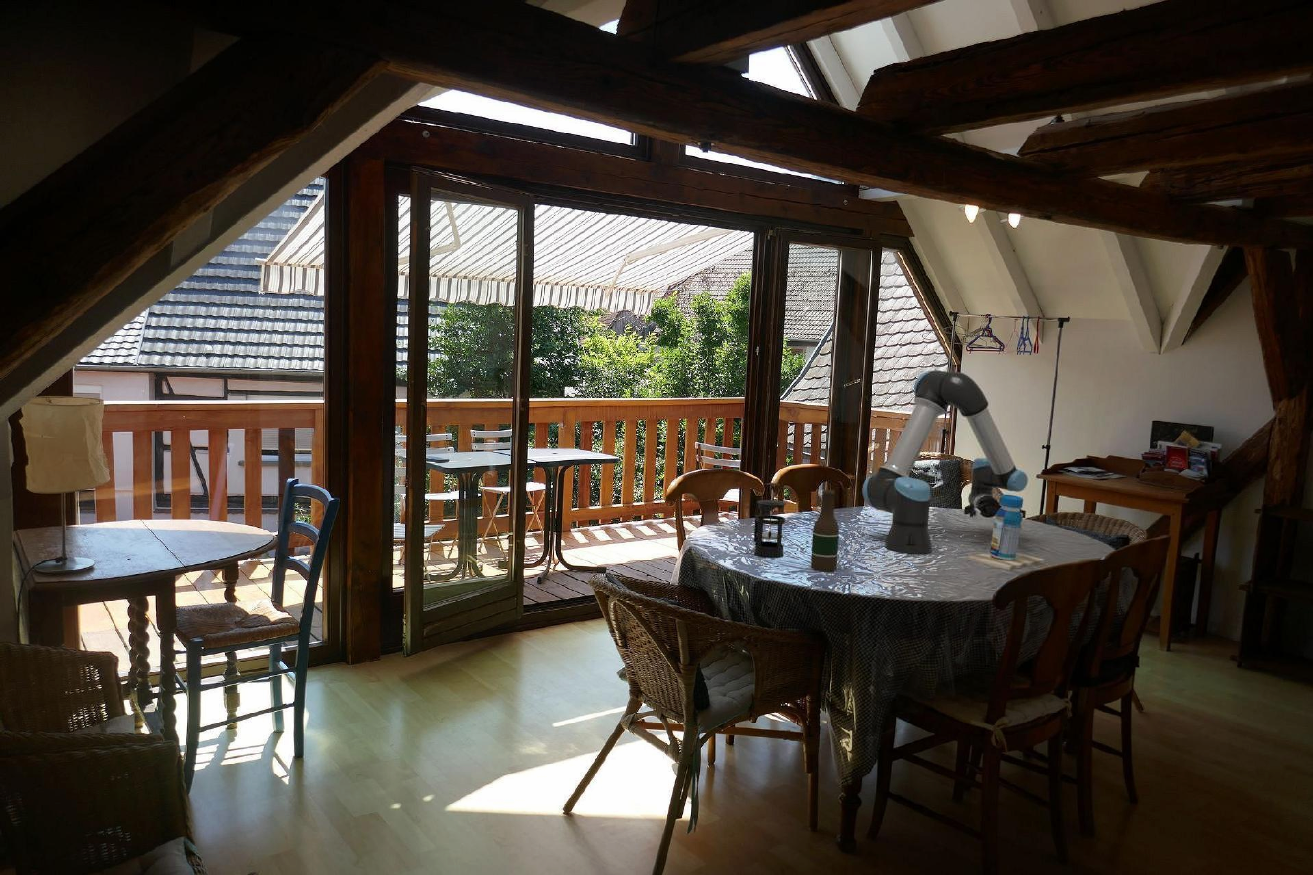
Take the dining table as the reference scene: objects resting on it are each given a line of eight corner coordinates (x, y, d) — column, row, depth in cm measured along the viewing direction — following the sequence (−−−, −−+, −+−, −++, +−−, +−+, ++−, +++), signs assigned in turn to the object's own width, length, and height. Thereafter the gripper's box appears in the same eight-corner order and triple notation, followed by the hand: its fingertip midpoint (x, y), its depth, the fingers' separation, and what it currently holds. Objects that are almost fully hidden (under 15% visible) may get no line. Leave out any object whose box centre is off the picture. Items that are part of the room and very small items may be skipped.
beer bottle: (805, 568, 288) (810, 489, 286) (820, 564, 294) (825, 487, 291) (826, 573, 283) (831, 493, 280) (841, 569, 288) (846, 491, 286)
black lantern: (791, 556, 302) (795, 484, 300) (769, 559, 297) (773, 486, 294) (765, 549, 312) (769, 479, 309) (744, 552, 306) (748, 481, 304)
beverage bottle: (1009, 562, 303) (1019, 501, 300) (984, 555, 309) (994, 495, 305) (1020, 558, 309) (1030, 498, 306) (995, 551, 315) (1005, 492, 311)
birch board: (1009, 569, 297) (1009, 566, 297) (967, 559, 309) (967, 556, 309) (1043, 562, 309) (1044, 559, 309) (1002, 553, 321) (1002, 550, 321)
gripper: (1022, 518, 340) (1037, 530, 319) (949, 513, 343) (960, 525, 322) (1023, 497, 339) (1039, 507, 318) (951, 493, 342) (962, 503, 321)
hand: (1000, 516), depth 320 cm, fingers open, 13 cm apart
